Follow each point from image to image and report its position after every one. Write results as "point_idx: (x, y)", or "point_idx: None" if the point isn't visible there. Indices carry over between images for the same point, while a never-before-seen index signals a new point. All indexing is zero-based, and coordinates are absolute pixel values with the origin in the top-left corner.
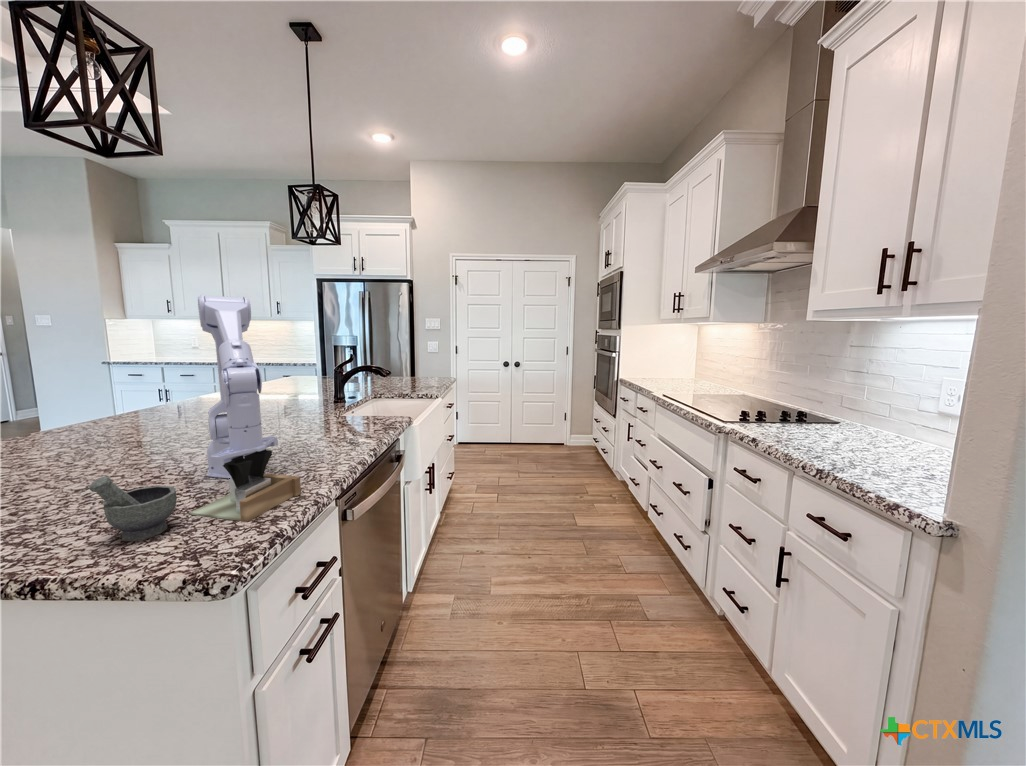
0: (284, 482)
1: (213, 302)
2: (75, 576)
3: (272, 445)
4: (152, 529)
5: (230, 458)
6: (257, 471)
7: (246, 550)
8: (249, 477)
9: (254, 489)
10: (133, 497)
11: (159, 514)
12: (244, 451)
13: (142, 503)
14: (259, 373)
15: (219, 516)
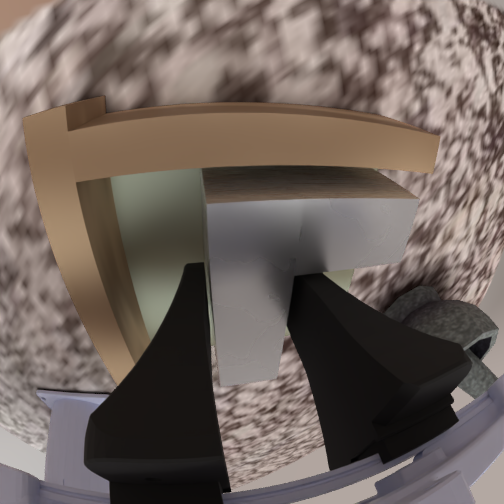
0: (141, 121)
1: None
2: (498, 260)
3: (35, 482)
4: (434, 297)
5: (453, 432)
6: (206, 338)
7: (485, 31)
8: (236, 332)
9: (352, 187)
10: None
11: (465, 306)
12: (485, 462)
13: None
14: None
15: None
